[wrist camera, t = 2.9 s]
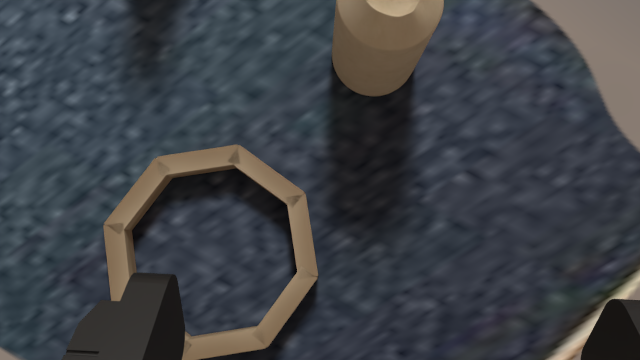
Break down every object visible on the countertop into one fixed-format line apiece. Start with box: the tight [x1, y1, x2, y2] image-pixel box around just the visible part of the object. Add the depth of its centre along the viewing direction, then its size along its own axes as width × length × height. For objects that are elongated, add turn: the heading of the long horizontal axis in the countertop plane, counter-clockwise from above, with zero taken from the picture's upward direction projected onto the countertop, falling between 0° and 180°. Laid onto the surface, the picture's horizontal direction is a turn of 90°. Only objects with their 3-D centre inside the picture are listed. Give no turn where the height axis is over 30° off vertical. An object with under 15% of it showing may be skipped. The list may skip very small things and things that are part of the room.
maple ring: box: [103, 145, 318, 360], centre depth 35 cm, size 12×12×2 cm
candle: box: [332, 0, 444, 96], centre depth 32 cm, size 6×6×10 cm
